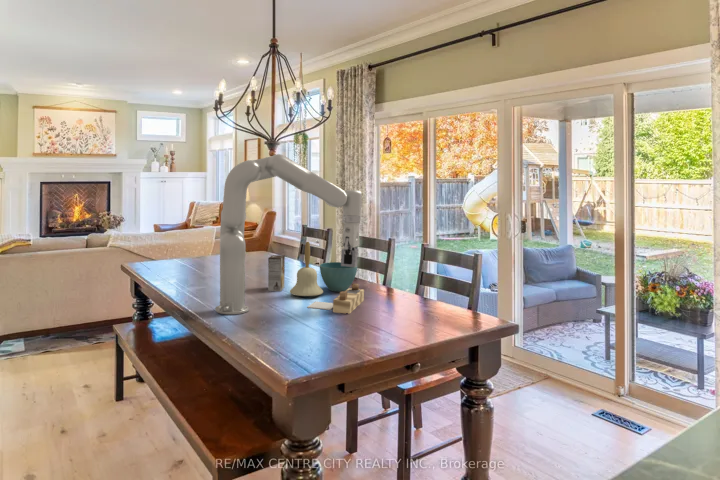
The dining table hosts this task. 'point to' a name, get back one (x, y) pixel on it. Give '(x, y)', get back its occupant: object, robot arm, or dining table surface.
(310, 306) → the mat
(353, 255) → the tall grey box
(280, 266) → the coffee box
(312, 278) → the handbell
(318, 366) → the dining table surface
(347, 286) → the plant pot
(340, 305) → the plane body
